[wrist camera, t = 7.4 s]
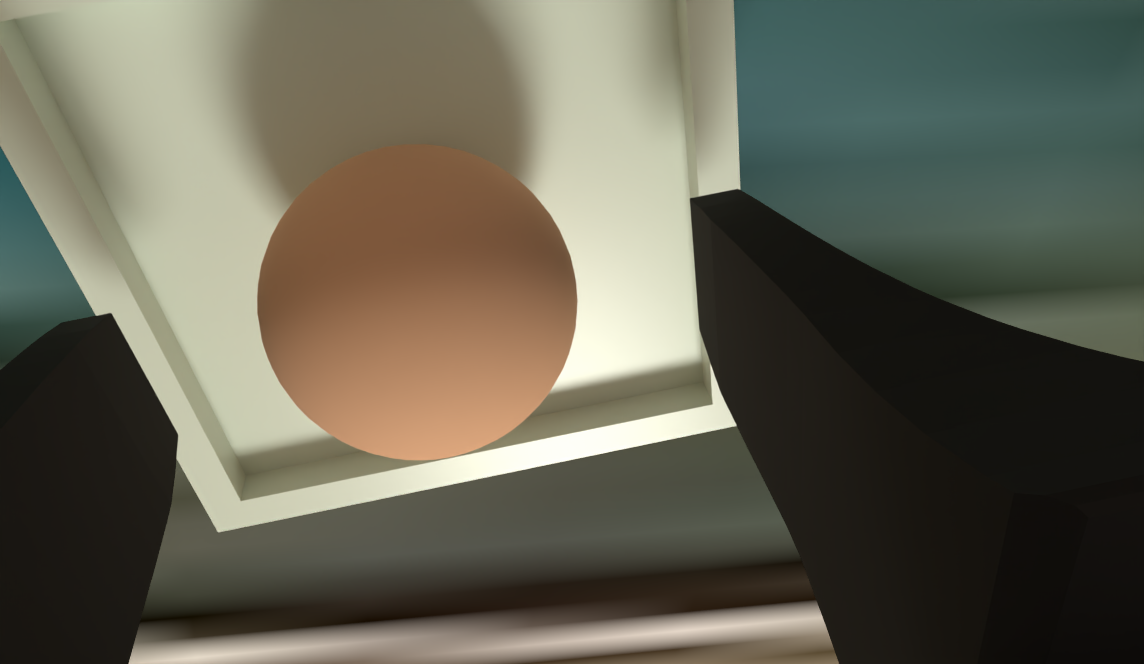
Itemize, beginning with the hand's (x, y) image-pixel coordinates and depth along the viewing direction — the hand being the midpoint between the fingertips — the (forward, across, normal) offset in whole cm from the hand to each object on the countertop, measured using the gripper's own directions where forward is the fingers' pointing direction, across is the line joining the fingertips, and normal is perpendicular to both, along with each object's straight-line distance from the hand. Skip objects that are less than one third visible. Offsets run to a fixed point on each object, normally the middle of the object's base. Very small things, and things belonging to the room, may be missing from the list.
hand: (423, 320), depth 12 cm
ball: (+2, 0, 0) cm, 2 cm away
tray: (+3, 0, 0) cm, 3 cm away
